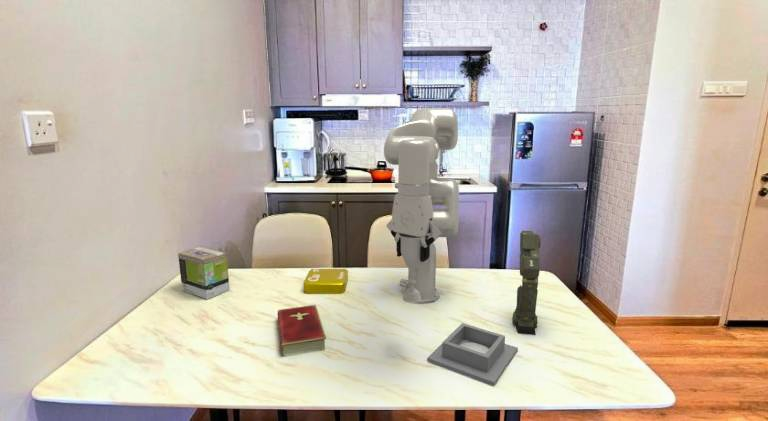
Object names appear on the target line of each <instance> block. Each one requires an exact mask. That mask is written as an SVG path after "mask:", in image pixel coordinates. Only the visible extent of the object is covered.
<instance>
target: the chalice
mask: <svg viewBox="0 0 768 421" xmlns="http://www.w3.org/2000/svg"><path fill="white" fill-rule="evenodd" d="M399 235H400V234H399ZM400 237H401V254H402V256H401V257H402V259H403V262H404V263H405V265H406V268H410V270H411V272H410V274H409V275H410V278H411V279H410V281H409V282H410V285H411V286H410V288H409V289H408V290H406V292H405V294H404V293H403V296H402V300H403V301H404V302H406V303H409V304H416V303H417V302H420V301H421V300H422V298H421V296H420V294H419V291H418V290H417V289H415V288H414V284H415V282H416V281H415V280H414V277H415V272H414V270H415V268H417V267H418V266H419V264H420V262H421V261H420V248H421V247H422V243H421V240H420V239H421V237H414V236H409V235H404V234H402V235H400ZM425 238H426V236H425Z"/></svg>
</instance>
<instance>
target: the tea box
mask: <svg viewBox="0 0 768 421" xmlns="http://www.w3.org/2000/svg"><path fill="white" fill-rule="evenodd" d="M177 256H178V257H177V258H178V263H179V264H178V265H179V272H180V282H181V289H182V291H184V292H186V293H189V294H191V295H195V296H197V297H200V298H203V299H206V300H210V299H213V298H214V297H217V296H219V295H222V294H223V293H226V292H229V291H230V282H229V281H230V279H229V267H228V256H227V252H225V251H221V250H216V249H213V248H210V247H206V246H199V247H195V248H192V249H188V250H184V251H182V252H178V253H177Z"/></svg>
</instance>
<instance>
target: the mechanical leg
mask: <svg viewBox="0 0 768 421" xmlns="http://www.w3.org/2000/svg"><path fill="white" fill-rule="evenodd" d="M519 235H520V240H519V251H520V254H519V276H521V277H522V278H521V279H522V280H521V282H522V283H521V284H519V286H518V287H517V289H516V290H517V291H516V306H515V310H514V311H513V312H512V325H513V326H514V328H515V330H516V332H517V334H520V335H521V334H522V335H530V336H535V335H536V328H537V327H538V323H539V322H538V321H539V320H538V319H539V318H538V315H536V311H537V310H536V308H537V299H538V292H539V290H538V286H539V277H540V249H541V245H542V244H541V242H542V240H541V235H540V234H538V233H537V232H536V233H535V232H533V231H531V230H522V231H520V233H519Z"/></svg>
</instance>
